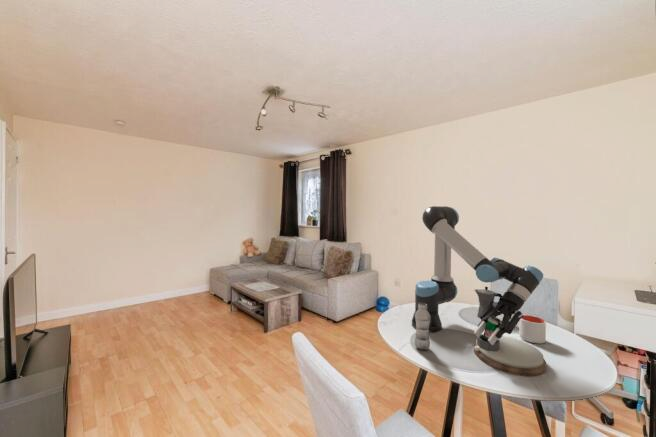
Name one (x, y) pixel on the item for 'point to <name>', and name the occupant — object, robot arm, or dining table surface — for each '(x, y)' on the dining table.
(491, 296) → the coffeepot
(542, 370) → the base
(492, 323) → the soda can
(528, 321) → the cup
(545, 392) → the dining table surface
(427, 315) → the plastic bottle
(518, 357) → the dial
